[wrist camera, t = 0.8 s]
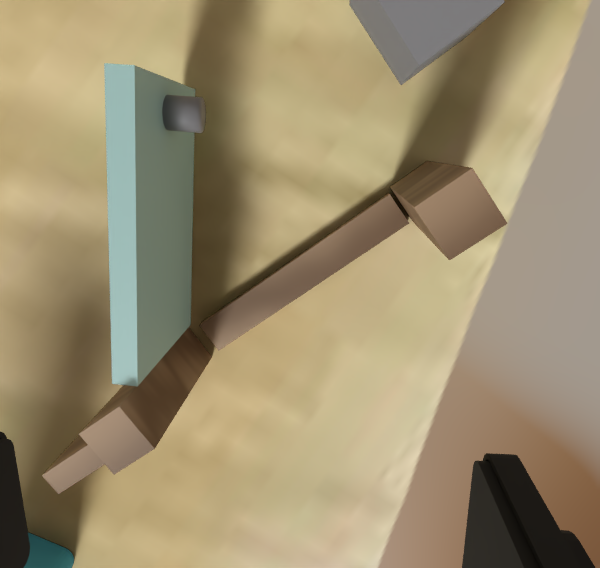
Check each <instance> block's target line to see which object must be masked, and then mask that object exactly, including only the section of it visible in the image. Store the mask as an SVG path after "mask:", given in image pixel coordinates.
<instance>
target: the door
mask: <svg viewBox="0 0 600 568" xmlns="http://www.w3.org/2000/svg"><path fill="white" fill-rule="evenodd" d="M104 66H105V107H106V149H107V191H108V233H109V275H110V317H111V359H112V384H119V385H128V386H137V387H138V385H139V384H140V383H141V382H142V381H143V380H144V378H145V377H146V376H147V375H148V374H149V373H150V371H151V370H152V369H153V368H154V367H155V366H156V364H157V363H158V362H159V361H160V360H161V359H162V357H163V356H164V355H165V354H166V353H167V352H168V350H169V349H170V348H171V347H172V346H173V345H174V344H175V342H176V341H177V340H178V339H179V338H180V337H181V335H182V334H183V333H184V332H185V331H186V330H187V328H188V327H189V326H190V325H191V283H192V232H193V182H194V132H195V133H202V132H203V131H204V128H205V122H206V107H205V102H204V99H203V98H202V97H195V89H193V88H190V87H188V86H185V85H183V84H180V83H178V82H175V81H173V80H170V79H168V78H165V77H163V76H160V75H158V74H155V73H152V72H150V71H147V70H145V69H142V68H140V67H137V66H135V65H121V64H107V63H104Z"/></svg>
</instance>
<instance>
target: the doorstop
mask: <svg viewBox="0 0 600 568" xmlns="http://www.w3.org/2000/svg"><path fill="white" fill-rule="evenodd" d="M503 3H504V0H350V4H349V5H350V6H351V8H352V9H353V11H354V13H355V14H356V16H357V17H358V19H359V20H360V22H361V24H362V25H363V27H364V28H365V30H366V31H367V33H368V35H369V36H370V38H371V39H372V41H373V42H374V44H375V45H376V47H377V49H378V50H379V52H380V53H381V55H382V56H383V58H384V60H385V61H386V63H387V64H388V66H389V67H390V69H391V71H392V72H393V74H394V75H395V77H396V78H397V80H398V82H399V83H400V85H402V84H403V83H405V82H406V81H407V80H409V79H410V78H411V77H413V76H414V75H416V74H417V73H418V72H420V71H421V70H422V69H424V68H425V67H426V66H428V65H429V64H430V63H432V62H433V61H434V60H436V59H437V58H439V57H440V56H441V55H443V54H444V53H445V52H447V51H448V50H449V49H451V48H452V47H453V46H455V45H456V44H457V43H459V42H460V41H462V40H463V39H464V38H465V37H467V36H468V35H469V34H470V33H471V32H472V31H473V30H474V29H475V28H477V27H478V26H479V25H480V24H481V23H482V22H483V21H484V20H485V19H487V18H488V17H489V16H490V15H491V14H492V13H493V12H494V11H495V10H497V9H498V8H499V7H500V6H501V5H502V4H503Z"/></svg>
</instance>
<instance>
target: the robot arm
mask: <svg viewBox="0 0 600 568" xmlns="http://www.w3.org/2000/svg"><path fill="white" fill-rule="evenodd" d="M29 554H30V542H29V536H28V530H27V524H26V518H25V512H24V506H23V499H22V493H21V487H20V481H19V475H18V469H17V463H16V457H15V451H14V446H13V443H12V441H11V440H9V439H7V437H6V435H5V434H4V433H3V432H0V568H24V566H25V565H26V563H27V560H28V558H29ZM462 568H595V566H594V565H593V563H592V561H591V560H590V558H589V556H588V555H587V553H586V552H585V550H584V548H583V546H582V545H581V543H580V541H579V540H578V539H577V537H576V536H575V535H574V534H573V533H572V532H570V531H564V530H560V529H559V527H558V525H557V524H556V522H555V520H554V518H553V517H552V515H551V513H550V511H549V510H548V508H547V506H546V504H545V503H544V501H543V499H542V497H541V496H540V494H539V493H538V490H537V489H536V487H535V485H534V483H533V482H532V480H531V478H530V476H529V475H528V473H527V471H526V469H525V468H524V466H523V464H522V462H521V461H520V459H519V458H518V456H517V455H509V454H485V455H484V458H483V461H475V462H474V465H473V473H472V482H471V491H470V500H469V509H468V519H467V528H466V537H465V546H464V555H463V564H462Z"/></svg>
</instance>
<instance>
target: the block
mask: <svg viewBox="0 0 600 568" xmlns="http://www.w3.org/2000/svg"><path fill="white" fill-rule="evenodd" d="M28 536H29V542H30V554H29V558H28V560H27V563H26V565H25V566H24V568H72V566H73V563H74V557H73V554H72V553H71V552H70V551H69V550H68V549H66V548H64V547H62V546H59V545H57V544H55V543H52V542H50V541H47V540H45V539H43V538H40V537H38V536H36V535H33V534H31V533H28Z"/></svg>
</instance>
